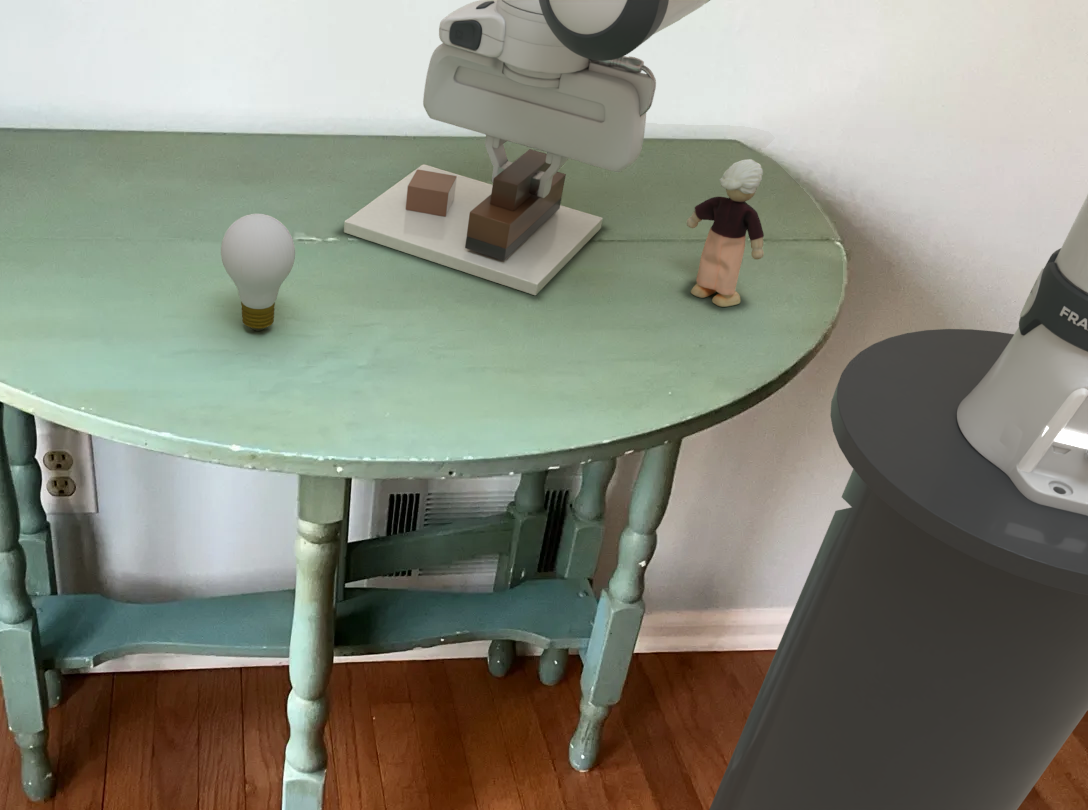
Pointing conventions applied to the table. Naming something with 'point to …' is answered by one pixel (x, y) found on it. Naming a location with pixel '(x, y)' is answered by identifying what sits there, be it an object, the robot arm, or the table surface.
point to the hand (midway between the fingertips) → (520, 188)
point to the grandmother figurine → (728, 233)
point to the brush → (513, 208)
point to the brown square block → (431, 192)
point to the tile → (448, 235)
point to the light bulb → (258, 264)
